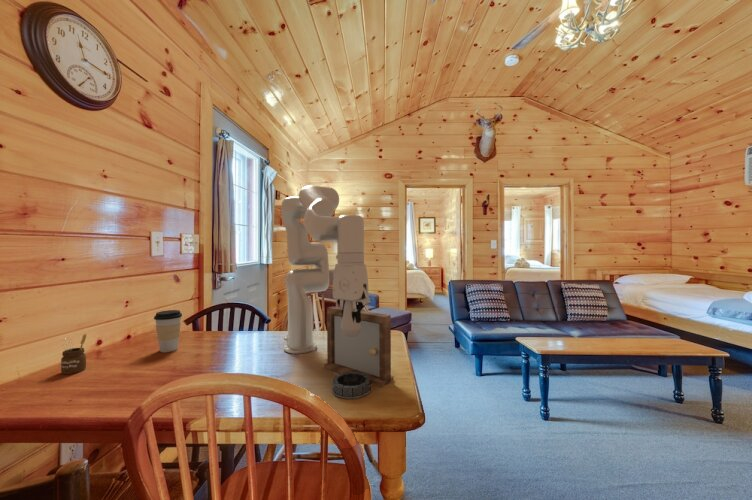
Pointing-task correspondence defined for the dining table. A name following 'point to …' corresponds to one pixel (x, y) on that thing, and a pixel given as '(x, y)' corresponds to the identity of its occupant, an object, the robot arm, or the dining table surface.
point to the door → (358, 347)
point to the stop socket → (351, 385)
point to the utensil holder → (73, 359)
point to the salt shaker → (349, 321)
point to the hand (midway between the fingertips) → (351, 323)
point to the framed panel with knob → (383, 345)
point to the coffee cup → (168, 329)
